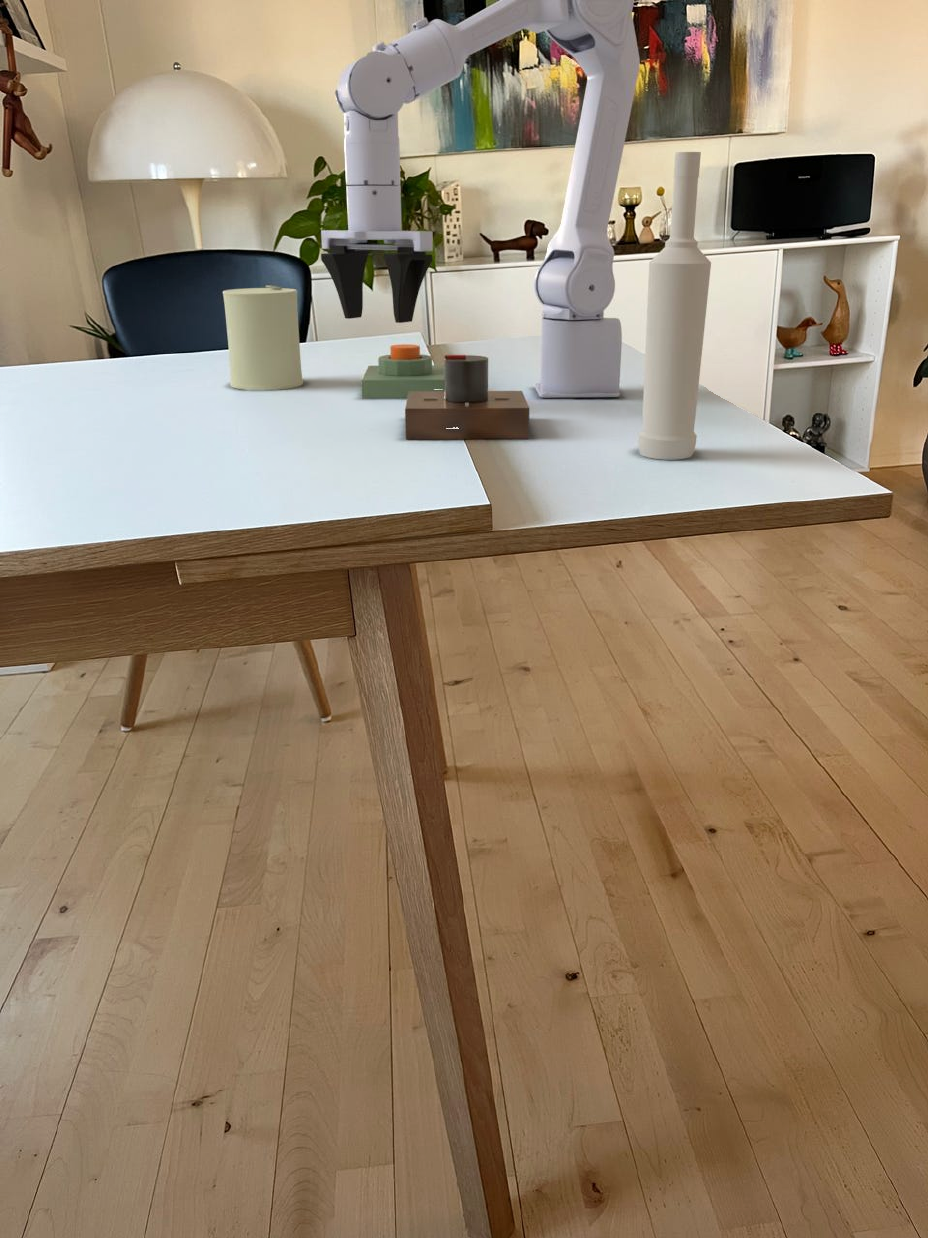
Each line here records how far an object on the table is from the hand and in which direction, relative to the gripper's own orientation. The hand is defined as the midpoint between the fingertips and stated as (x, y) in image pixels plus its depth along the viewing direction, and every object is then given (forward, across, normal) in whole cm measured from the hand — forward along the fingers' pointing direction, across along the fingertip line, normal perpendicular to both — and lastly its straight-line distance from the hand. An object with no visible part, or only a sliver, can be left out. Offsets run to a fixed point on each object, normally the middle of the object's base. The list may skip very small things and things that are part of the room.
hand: (378, 319), depth 111 cm
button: (+6, -5, +10) cm, 12 cm away
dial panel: (+10, +16, -4) cm, 19 cm away
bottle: (+10, +37, -2) cm, 39 cm away
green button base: (+10, -5, +10) cm, 15 cm away
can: (+10, -22, +2) cm, 24 cm away
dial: (+6, +16, -4) cm, 18 cm away
